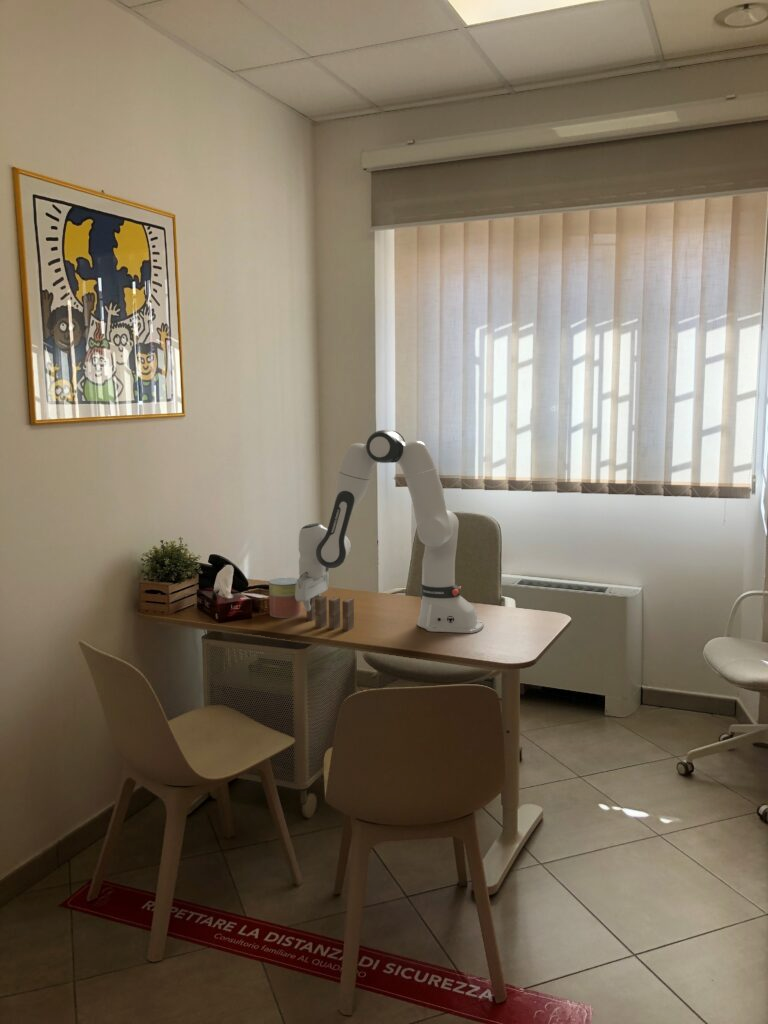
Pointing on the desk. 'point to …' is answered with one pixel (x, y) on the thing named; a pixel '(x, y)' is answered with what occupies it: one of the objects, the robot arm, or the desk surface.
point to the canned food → (283, 598)
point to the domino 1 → (312, 609)
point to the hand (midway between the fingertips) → (312, 608)
